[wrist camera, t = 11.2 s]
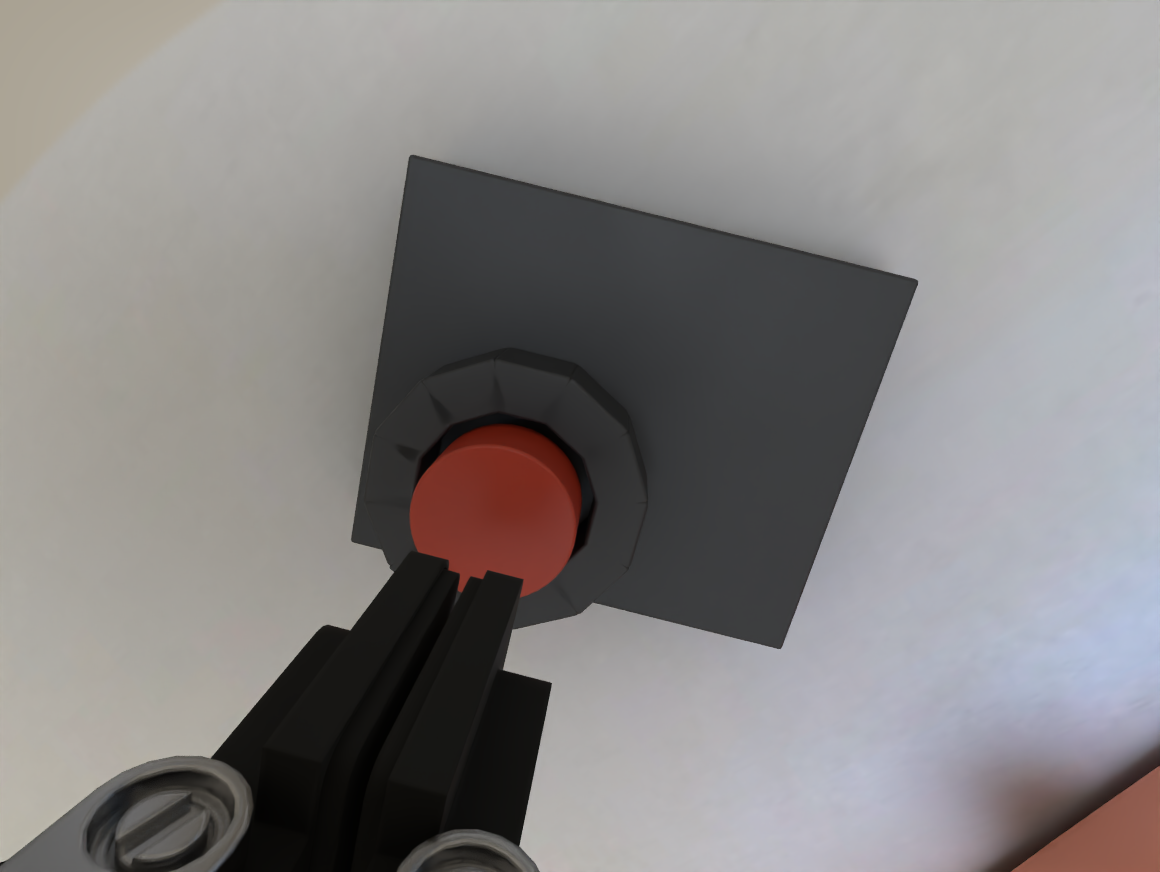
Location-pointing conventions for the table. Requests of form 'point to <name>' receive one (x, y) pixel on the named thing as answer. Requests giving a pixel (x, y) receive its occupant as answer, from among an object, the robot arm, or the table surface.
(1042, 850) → the teapot
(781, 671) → the table surface
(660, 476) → the button block
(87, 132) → the table surface
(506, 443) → the button
